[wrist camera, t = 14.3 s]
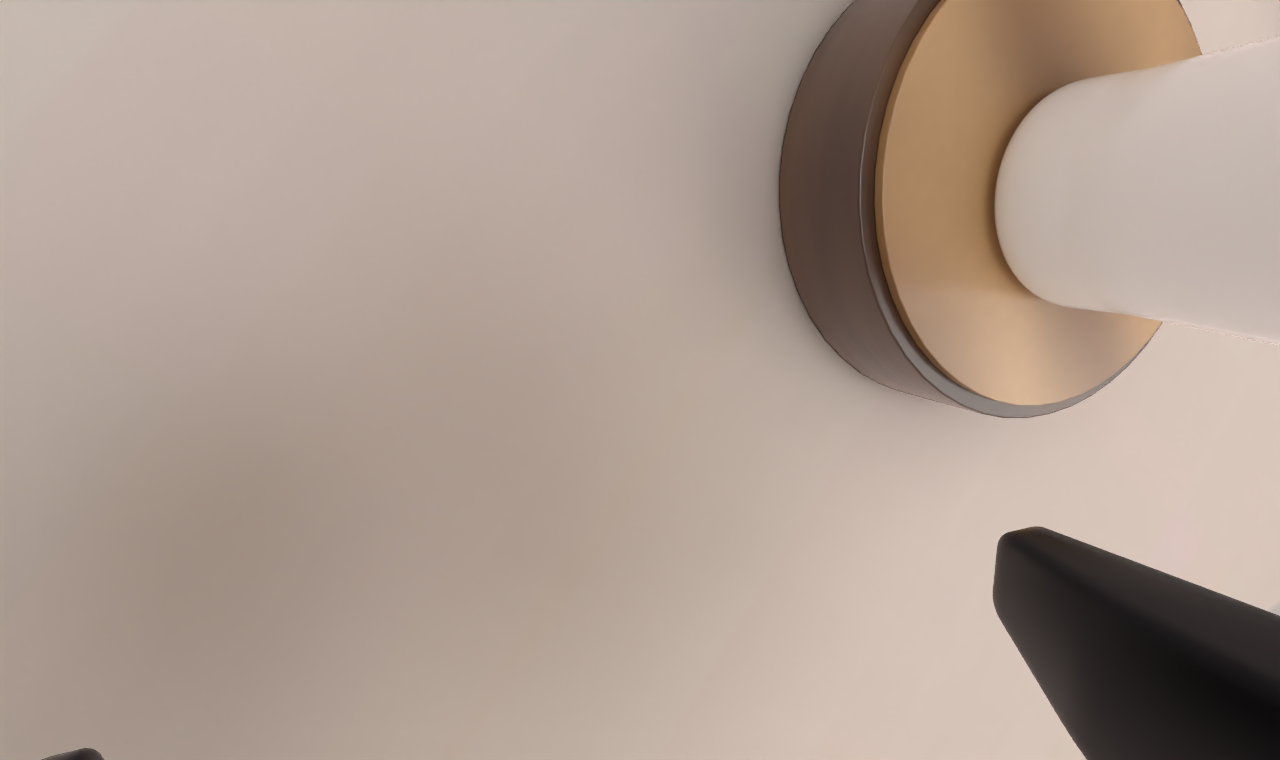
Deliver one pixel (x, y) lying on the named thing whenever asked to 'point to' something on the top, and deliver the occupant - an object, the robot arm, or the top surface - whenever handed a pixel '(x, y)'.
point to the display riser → (950, 193)
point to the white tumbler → (1154, 193)
